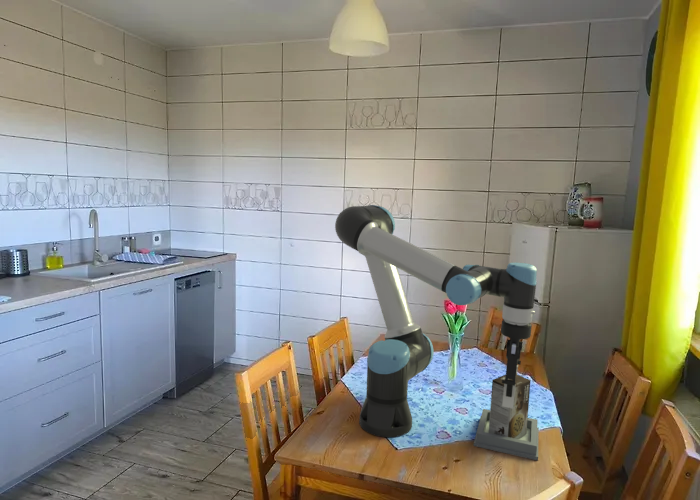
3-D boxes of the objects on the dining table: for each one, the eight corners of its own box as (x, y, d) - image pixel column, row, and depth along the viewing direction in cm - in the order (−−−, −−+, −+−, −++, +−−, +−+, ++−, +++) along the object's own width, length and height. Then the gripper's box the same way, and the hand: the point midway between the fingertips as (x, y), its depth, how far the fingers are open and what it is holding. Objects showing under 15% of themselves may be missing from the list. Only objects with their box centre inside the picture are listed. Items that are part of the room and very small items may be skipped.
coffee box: (506, 425, 134) (511, 371, 132) (527, 435, 129) (532, 379, 127) (487, 434, 129) (491, 378, 127) (507, 445, 124) (512, 387, 122)
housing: (473, 445, 125) (474, 433, 125) (480, 418, 140) (481, 407, 139) (537, 460, 119) (539, 447, 119) (538, 430, 134) (539, 419, 134)
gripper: (530, 337, 112) (522, 420, 115) (532, 311, 135) (525, 381, 138) (498, 332, 115) (490, 413, 118) (505, 308, 138) (498, 376, 141)
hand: (509, 396), depth 128 cm, fingers open, 13 cm apart
